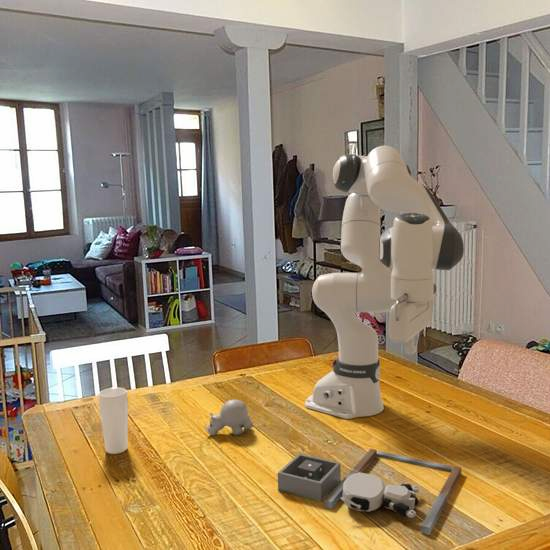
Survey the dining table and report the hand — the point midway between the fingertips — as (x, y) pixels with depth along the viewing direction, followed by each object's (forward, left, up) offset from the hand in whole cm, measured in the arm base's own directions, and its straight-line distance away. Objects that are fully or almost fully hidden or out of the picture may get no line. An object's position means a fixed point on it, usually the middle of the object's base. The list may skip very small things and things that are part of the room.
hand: (411, 353), depth 130 cm
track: (0, -9, -27) cm, 29 cm away
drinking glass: (-67, -22, -27) cm, 76 cm away
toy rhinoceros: (-48, -1, -27) cm, 55 cm away
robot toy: (-1, -17, -28) cm, 32 cm away
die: (-17, -16, -27) cm, 35 cm away
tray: (-17, -16, -27) cm, 36 cm away
